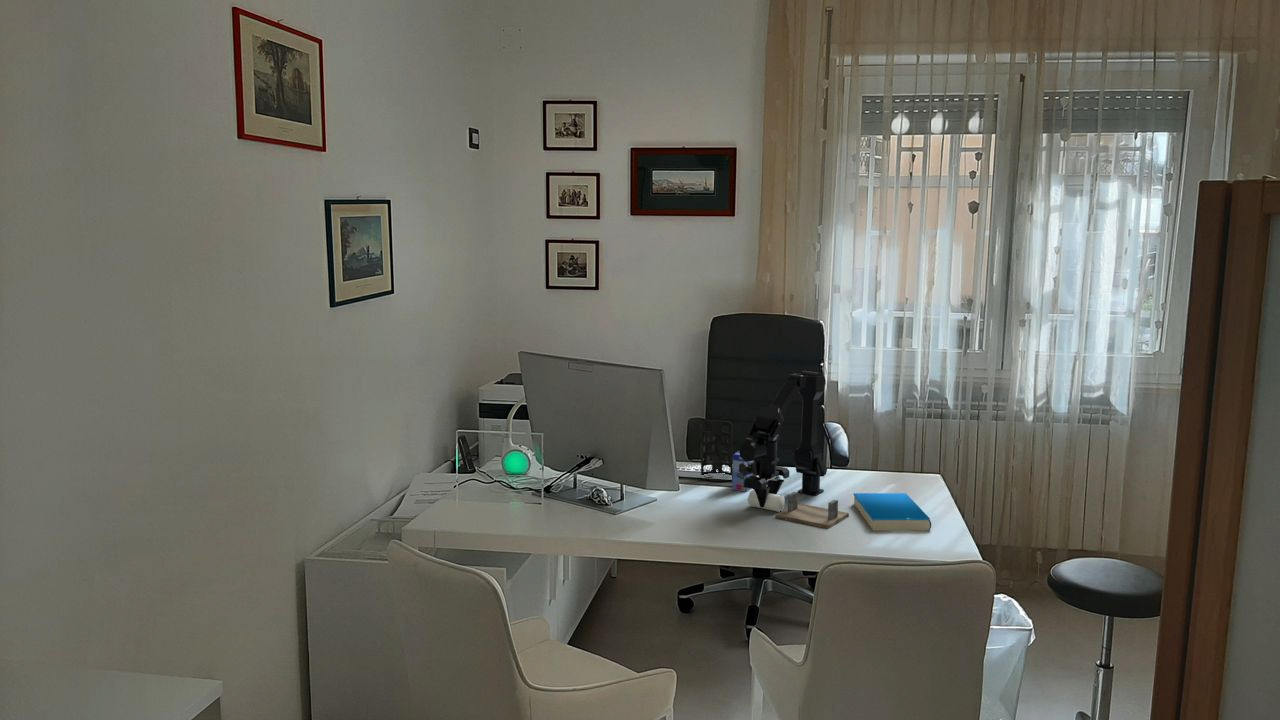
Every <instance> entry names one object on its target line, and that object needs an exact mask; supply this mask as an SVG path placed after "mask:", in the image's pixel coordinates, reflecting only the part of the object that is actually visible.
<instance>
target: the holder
mask: <svg viewBox="0 0 1280 720" xmlns="http://www.w3.org/2000/svg"><path fill="white" fill-rule="evenodd" d="M710 425H711V430H710V431H709V430H708V431H704V426H710ZM699 426H700V476H701V475H704V474H708V473H725V474H729V475H733V423H732V422H730V421H726V420H703V421H701V422H700V425H699ZM724 426H726V427H729V428H728V429H729V432H727V431H724V430H723V427H724ZM710 436H711V439H710ZM723 436H724V437H723ZM704 437H706V441H704ZM728 437H729V441H728ZM723 438H724V440H723ZM705 446H711V450H709V451H708V450H707V451H704V447H705ZM724 446H725V447H728V448H729V452H727V451H725V450H723V447H724ZM705 456H706V461H705V460H704V458H705ZM710 456H711V460H710ZM723 456H724V460H723ZM728 458H729V461H728ZM705 466H711V470H708V471H707V470H706V471H704V468H705ZM723 466H727V467H729V470H730V472H729V471H724V470H723ZM708 480H709V482H716V483H717V482H720V481H722V480H721V479H708ZM708 480H707V481H708Z"/></svg>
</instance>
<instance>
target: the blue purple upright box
mask: <svg viewBox="0 0 1280 720" xmlns="http://www.w3.org/2000/svg"><path fill="white" fill-rule="evenodd" d="M732 461H733V475H732V480H731V482H732V483H731V486H732V487H731V490H734V491H740V492H744V493H747V492H749V490H750V491H751V490H752V489H751V488H745V487H743V481H744V480H745V479H746V478H748V477H750V476H755V475H753V473H752V474H748V475H746V476H743V475H742V474H741V473H740V472H739V464H741V463H745V462H746V463H751V462H754V460H752V461H745V460H743V459H742V457H741V456H740V452H739V450H738V451H736V452H735V453H734V454H733V453H732ZM756 477H758V476H756Z"/></svg>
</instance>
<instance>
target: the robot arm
mask: <svg viewBox="0 0 1280 720" xmlns="http://www.w3.org/2000/svg"><path fill="white" fill-rule="evenodd" d="M825 385H826V377H825V376H824V374H823V373H822V372H816V371H815V372H814V371H810V370H809V371H808V370H802V371H801V372H800V373H791V374H788V375H787V377H786V381H785V383H784V384H783V386H782V387H781V389H780V390H779V392H778V393H777V394H776V396H775V398H774V399H773V401H772V402H771V404H770V405H769V406H767V407H766V408H764V409H762V410H761V411H760V412H759V413H758V414H757V416H756V417H755V419H754V421H753V424H752V426H751V428H750V430H749V434H748V435H747V436H748V437H746V438H744V442H743V443H741V444H740V447H739V450H738V451H739V452H740V456H741V457H742V459H743V460H745V461H752V460H754V462H751V463H746V462H745V463H741V464H739V472H740V473H741V474H742V475H743V476H746V475H748V474H752V473H753V475H755V476H750V477H748V478H746V479H745V480H744V481H743V487H745V488H751V489H750V490H755V492H756V495H757V498H758V501H759V504H760V507H764V505H765V503H766V499H767V496H768V493H771V494H776V495H778V493H779V490H780V489H781V487H782V485H783V483H785V479H788V478H790V470H789V469H788V467H783V466H778V465H777V463H779V462H780V457H778V456H777V455H778V440H781V439H782V436H781V435H780V434H779V433H780V431H781V429H782V427H783V425H784V422H785V420H784V419H785V418H784V416H785V413H786V412H787V410H789V407H790V406H791V404H792V403H793V402H794V400H795V398H796V396H797V395H798V394H799V395H800V396H801V398H802V406H801V407H802V408H801V409H802V412H801V433H800V434H801V435H800V444H799V445H798V446H797V448H795V449H794V451H793V454H794V456H793V462H794V467H795V471H796V473H797V474H801V475H802V476H801V478H802V479H801V488H800V489H798V490H797V492H798V493H800V494H805V495H810V496H818V495H819V494H822V493H823V492H824V491H825V490H824V489H822V488H821V477H822V478H824V477H825V476H826V475H827V472H828V467H827V465H826V464H825V463H824V461H823V460H822V452H821V450H820V447H819V445H818V444H817V443H818V442H817V441H818V440H817V439H818V422H819V421H818V420H819V419H818V418H819V400H820V399H821V396H822V395H823V393H824V392H825ZM756 476H757V477H756ZM781 477H782V478H783V479H781Z"/></svg>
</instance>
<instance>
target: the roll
mask: <svg viewBox="0 0 1280 720" xmlns="http://www.w3.org/2000/svg"><path fill="white" fill-rule="evenodd" d="M785 499H786V498H785V496H784V495H782V494H781V495H780V494H777V495H776V494H771V493H768V496H767V499H766V503H765V505H764V507H760V504H759V501H758V498H757V495H756V492H755V490H754V489H751V490H750V491H749V493H748V497H747V505H749V507H753V508H759V509H763V510H769V511H772V512H778V513H779V512H780V511H783V510H784V507H785V503H786V502H785Z"/></svg>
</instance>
